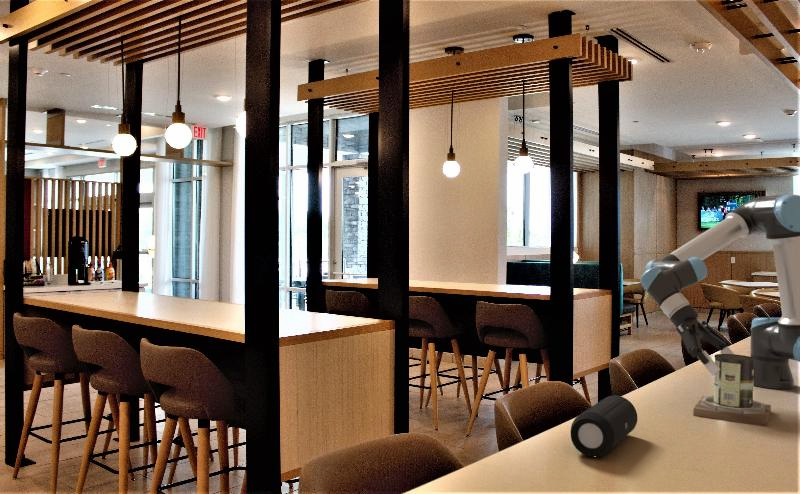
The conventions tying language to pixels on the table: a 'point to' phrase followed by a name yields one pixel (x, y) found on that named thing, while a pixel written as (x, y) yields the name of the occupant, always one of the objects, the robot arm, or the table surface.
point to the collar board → (733, 411)
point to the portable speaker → (603, 425)
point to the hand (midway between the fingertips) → (728, 370)
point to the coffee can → (734, 381)
